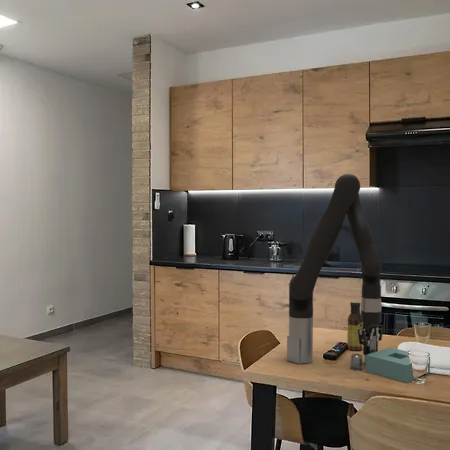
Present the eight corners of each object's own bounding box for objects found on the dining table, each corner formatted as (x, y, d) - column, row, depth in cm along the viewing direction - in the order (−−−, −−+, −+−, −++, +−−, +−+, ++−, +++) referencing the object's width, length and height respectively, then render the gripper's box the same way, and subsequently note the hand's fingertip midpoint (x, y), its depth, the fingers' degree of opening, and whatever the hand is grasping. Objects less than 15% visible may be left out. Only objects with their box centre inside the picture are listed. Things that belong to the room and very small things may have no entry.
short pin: (357, 371, 185) (357, 357, 184) (348, 368, 188) (348, 355, 187) (364, 369, 187) (364, 355, 187) (354, 366, 190) (355, 353, 190)
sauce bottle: (363, 351, 210) (363, 303, 209) (347, 350, 211) (348, 303, 211) (362, 347, 216) (362, 301, 216) (347, 346, 218) (347, 300, 217)
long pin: (371, 366, 190) (372, 337, 190) (362, 363, 193) (363, 335, 193) (377, 364, 193) (378, 335, 193) (368, 361, 196) (369, 333, 196)
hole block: (406, 382, 172) (406, 365, 172) (365, 371, 184) (365, 354, 184) (429, 373, 183) (430, 356, 182) (389, 362, 195) (390, 347, 195)
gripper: (373, 305, 200) (372, 348, 201) (351, 310, 191) (350, 355, 191) (390, 308, 194) (389, 352, 195) (368, 313, 185) (368, 359, 186)
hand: (370, 353), depth 193 cm, fingers open, 5 cm apart
